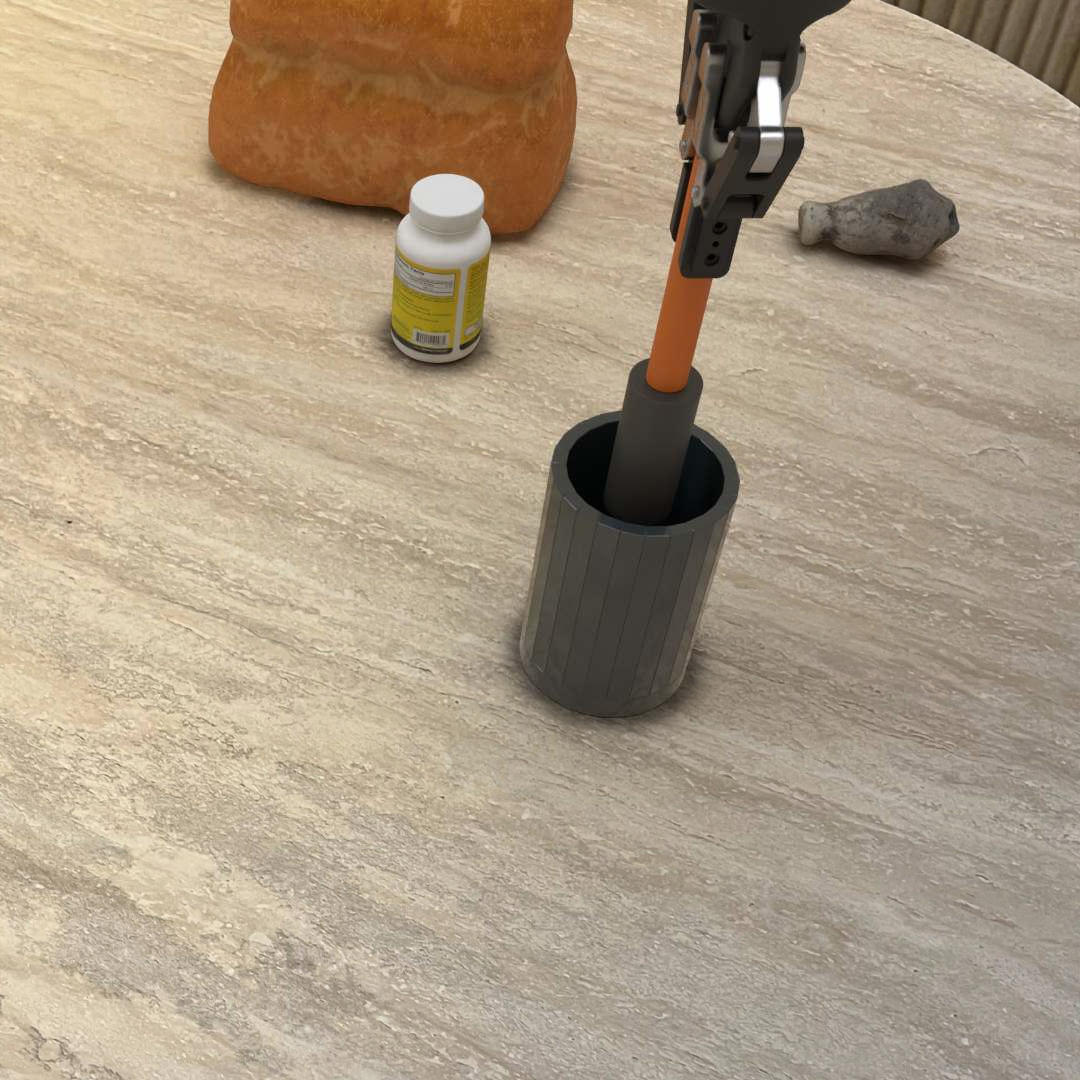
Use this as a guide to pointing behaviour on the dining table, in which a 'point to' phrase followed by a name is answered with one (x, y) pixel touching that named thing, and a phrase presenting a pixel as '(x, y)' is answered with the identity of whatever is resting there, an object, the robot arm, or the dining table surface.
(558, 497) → the ribbed pencil cup
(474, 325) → the pill bottle
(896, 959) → the dining table surface
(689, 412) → the brush
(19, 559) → the dining table surface
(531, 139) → the bread
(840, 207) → the stone
